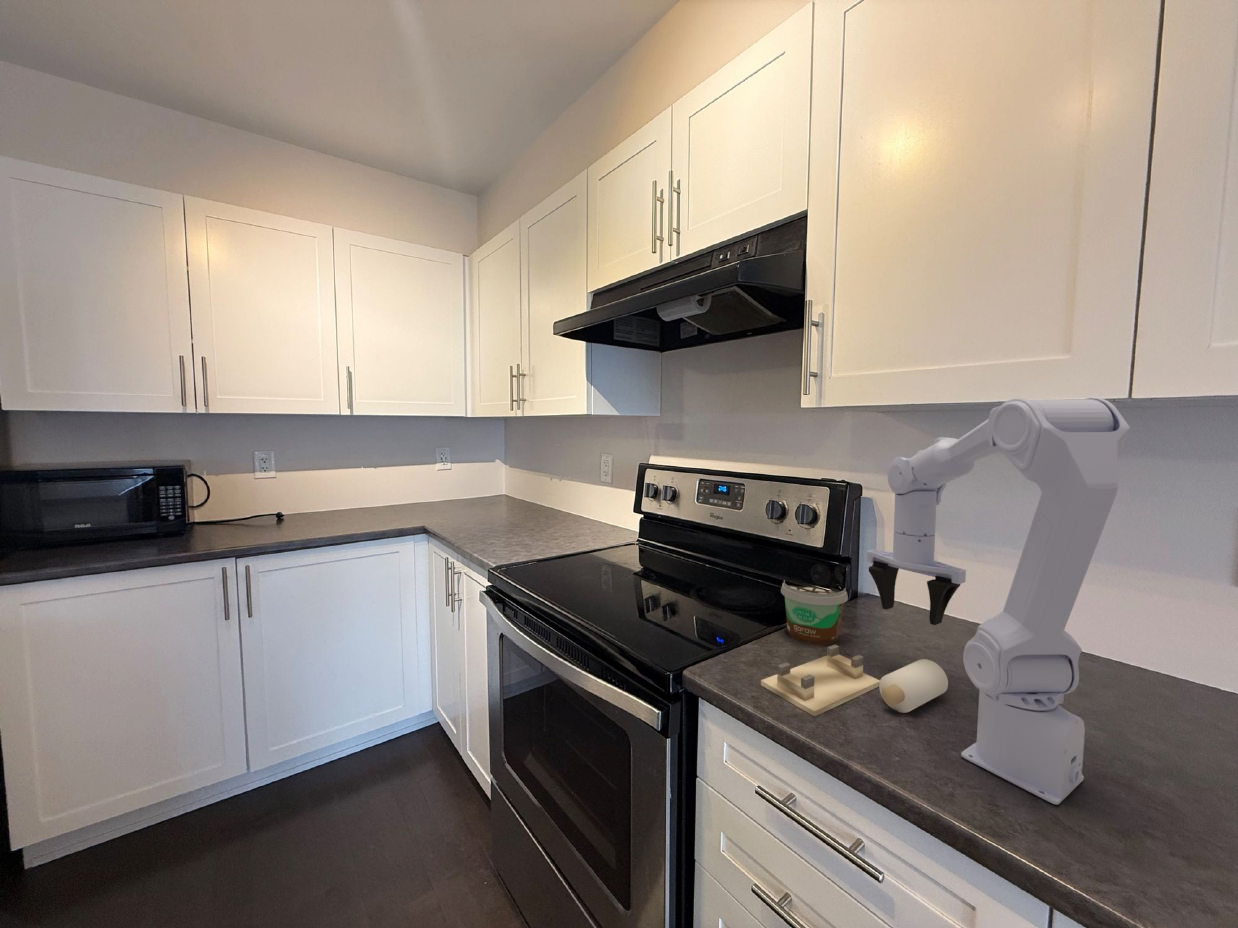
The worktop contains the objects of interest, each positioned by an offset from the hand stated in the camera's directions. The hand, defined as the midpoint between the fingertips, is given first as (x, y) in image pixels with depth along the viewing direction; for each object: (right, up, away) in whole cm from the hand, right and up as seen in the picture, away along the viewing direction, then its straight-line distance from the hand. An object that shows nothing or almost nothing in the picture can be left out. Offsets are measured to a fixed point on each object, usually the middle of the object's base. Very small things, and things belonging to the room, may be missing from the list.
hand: (910, 615), depth 80 cm
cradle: (-15, -11, -2) cm, 19 cm away
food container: (-10, -9, +15) cm, 21 cm away
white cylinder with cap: (-3, -11, -6) cm, 13 cm away
